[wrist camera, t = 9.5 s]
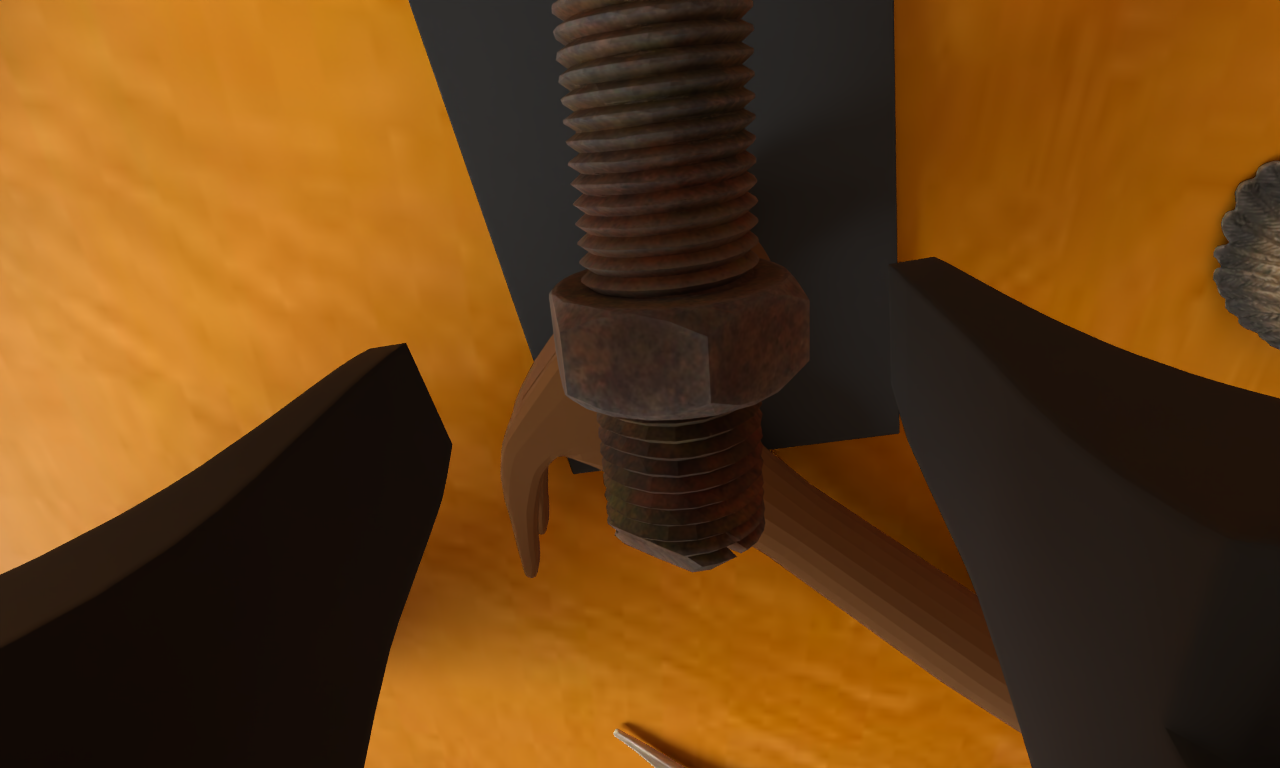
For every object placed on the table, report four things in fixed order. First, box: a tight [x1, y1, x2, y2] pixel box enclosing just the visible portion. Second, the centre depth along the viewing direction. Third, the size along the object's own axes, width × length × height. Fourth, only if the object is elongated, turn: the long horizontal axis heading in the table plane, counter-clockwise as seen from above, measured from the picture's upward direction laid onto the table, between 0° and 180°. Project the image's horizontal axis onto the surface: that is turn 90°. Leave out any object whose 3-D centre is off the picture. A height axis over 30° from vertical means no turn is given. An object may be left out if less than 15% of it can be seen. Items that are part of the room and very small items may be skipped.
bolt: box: [549, 0, 810, 572], centre depth 13 cm, size 6×5×15 cm
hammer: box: [501, 230, 1021, 733], centre depth 24 cm, size 12×3×30 cm
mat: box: [409, 0, 899, 474], centre depth 18 cm, size 10×19×1 cm, turn 12°
